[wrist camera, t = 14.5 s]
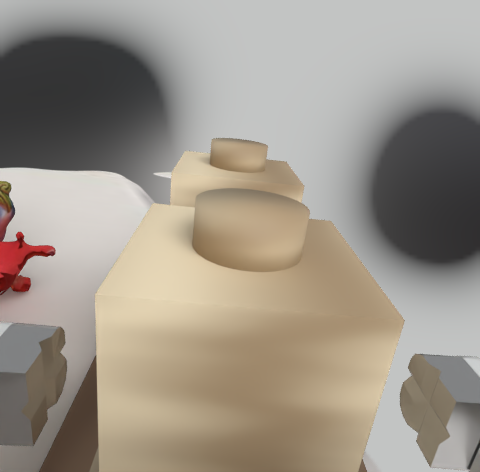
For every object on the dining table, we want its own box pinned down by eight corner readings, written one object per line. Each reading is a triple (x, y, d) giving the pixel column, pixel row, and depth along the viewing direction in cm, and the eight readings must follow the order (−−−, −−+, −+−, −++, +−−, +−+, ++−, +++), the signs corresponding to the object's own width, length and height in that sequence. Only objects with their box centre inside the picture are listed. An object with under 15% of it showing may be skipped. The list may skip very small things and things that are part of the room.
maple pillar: (103, 648, 10) (93, 234, 6) (144, 464, 14) (154, 167, 10) (302, 653, 10) (422, 265, 6) (279, 472, 15) (337, 186, 11)
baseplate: (-99, 804, 8) (-356, 274, 4) (122, 317, 25) (123, 117, 20) (459, 804, 9) (793, 367, 4) (308, 332, 26) (347, 143, 21)
